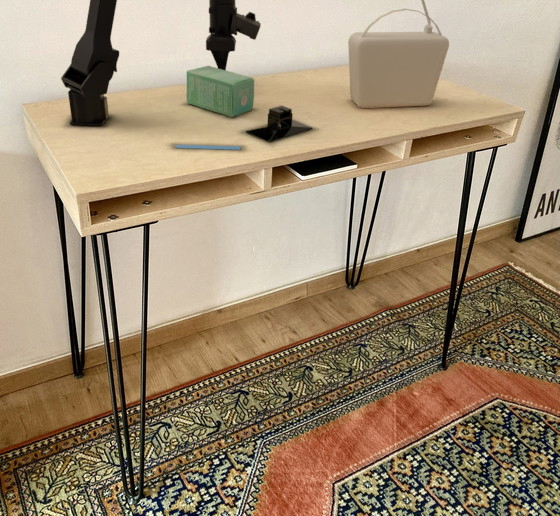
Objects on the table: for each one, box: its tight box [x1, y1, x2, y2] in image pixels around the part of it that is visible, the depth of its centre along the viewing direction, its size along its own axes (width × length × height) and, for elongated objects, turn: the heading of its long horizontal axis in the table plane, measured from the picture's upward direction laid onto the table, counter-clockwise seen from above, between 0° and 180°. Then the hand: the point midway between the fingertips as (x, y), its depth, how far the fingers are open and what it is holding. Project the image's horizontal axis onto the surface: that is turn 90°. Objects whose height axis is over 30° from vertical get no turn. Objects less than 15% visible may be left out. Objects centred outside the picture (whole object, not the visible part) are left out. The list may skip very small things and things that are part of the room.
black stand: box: [245, 105, 313, 144], centre depth 126 cm, size 12×7×5 cm, turn 134°
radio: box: [347, 0, 450, 109], centre depth 140 cm, size 22×8×25 cm, turn 104°
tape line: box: [175, 144, 241, 151], centre depth 118 cm, size 12×2×1 cm, turn 92°
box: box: [186, 65, 255, 118], centre depth 136 cm, size 7×14×8 cm, turn 54°
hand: (222, 73), depth 145 cm, fingers closed
